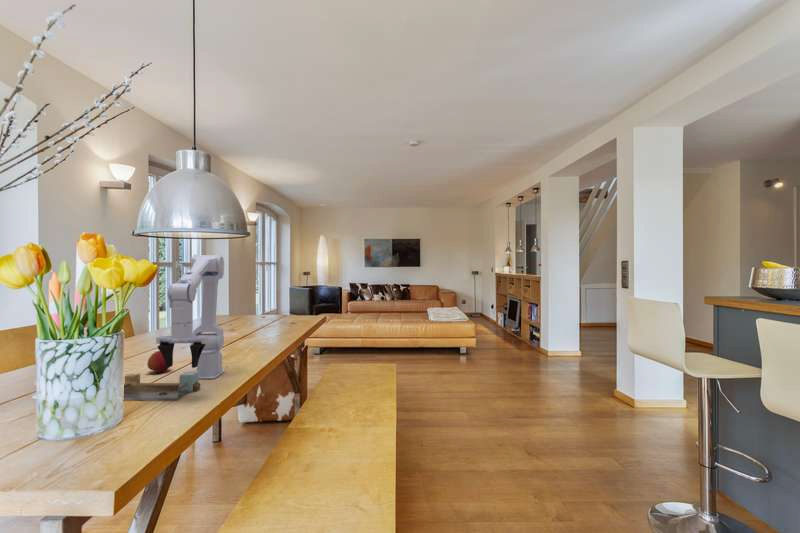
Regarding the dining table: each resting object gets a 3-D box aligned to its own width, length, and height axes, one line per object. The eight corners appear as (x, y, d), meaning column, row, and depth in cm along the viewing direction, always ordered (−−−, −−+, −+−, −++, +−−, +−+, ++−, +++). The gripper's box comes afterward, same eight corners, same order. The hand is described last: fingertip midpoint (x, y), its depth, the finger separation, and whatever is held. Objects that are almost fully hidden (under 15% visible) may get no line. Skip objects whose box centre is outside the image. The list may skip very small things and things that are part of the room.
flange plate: (117, 392, 128) (117, 390, 128) (188, 392, 129) (188, 390, 129) (102, 400, 121) (102, 397, 121) (176, 400, 122) (176, 397, 122)
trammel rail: (126, 388, 132) (126, 373, 132) (200, 388, 133) (200, 373, 133) (109, 397, 124) (109, 380, 124) (188, 396, 125) (188, 380, 125)
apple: (175, 372, 152) (175, 350, 152) (151, 376, 146) (151, 354, 146) (167, 368, 157) (167, 347, 157) (144, 372, 151) (144, 351, 151)
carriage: (186, 387, 133) (186, 371, 133) (198, 387, 133) (198, 371, 133) (172, 396, 125) (172, 379, 125) (185, 396, 125) (185, 379, 125)
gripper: (150, 324, 119) (150, 370, 119) (199, 324, 119) (199, 370, 119) (163, 320, 126) (163, 364, 126) (210, 321, 126) (210, 364, 126)
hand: (182, 366), depth 123 cm, fingers open, 7 cm apart
